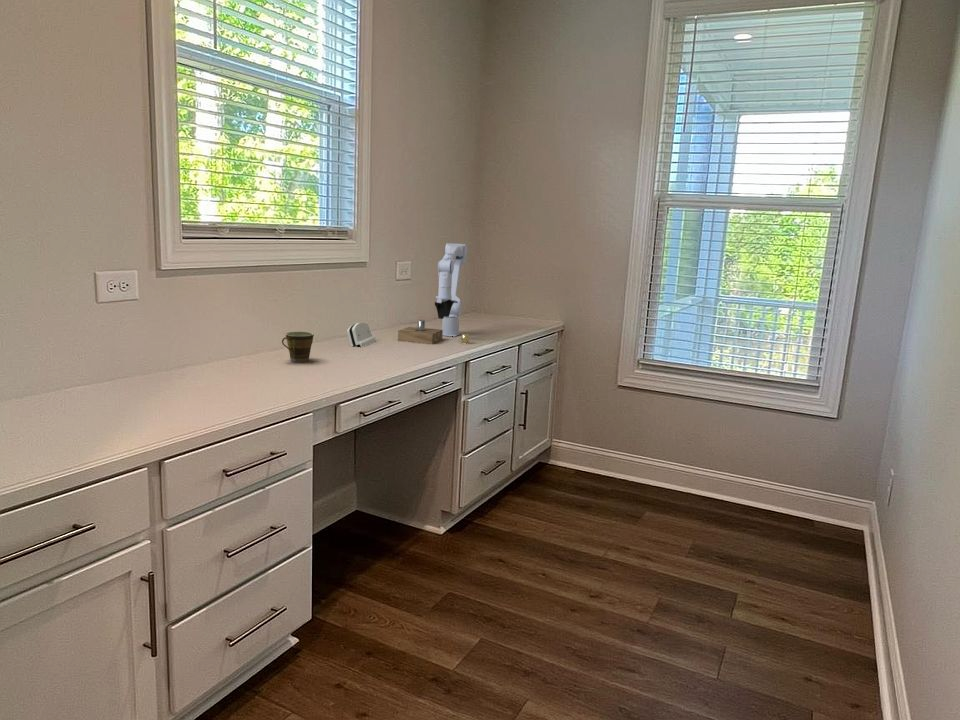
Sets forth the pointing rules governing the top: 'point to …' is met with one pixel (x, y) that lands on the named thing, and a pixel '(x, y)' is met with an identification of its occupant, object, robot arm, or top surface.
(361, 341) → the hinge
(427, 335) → the hole block
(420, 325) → the tall pin
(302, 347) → the ceramic cup
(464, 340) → the short pin
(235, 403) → the top surface
